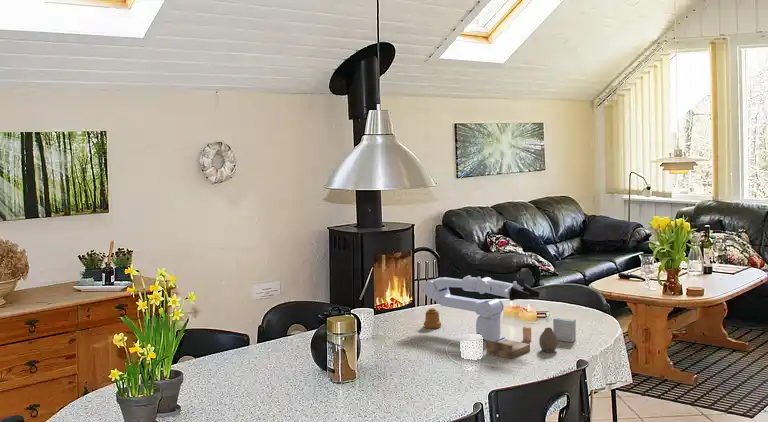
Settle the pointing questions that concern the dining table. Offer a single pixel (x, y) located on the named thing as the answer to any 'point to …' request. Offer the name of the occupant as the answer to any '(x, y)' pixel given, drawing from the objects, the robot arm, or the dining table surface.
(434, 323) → the ornamental finial
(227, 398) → the dining table surface
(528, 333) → the peach rounded cylinder
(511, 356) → the brown wooden box
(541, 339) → the vase
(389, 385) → the dining table surface
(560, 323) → the medicine box
